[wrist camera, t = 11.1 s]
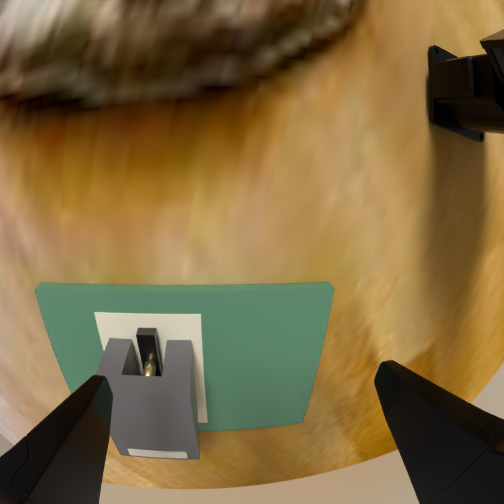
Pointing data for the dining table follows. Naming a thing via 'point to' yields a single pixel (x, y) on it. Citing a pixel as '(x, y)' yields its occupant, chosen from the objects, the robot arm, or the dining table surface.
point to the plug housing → (152, 402)
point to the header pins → (149, 351)
